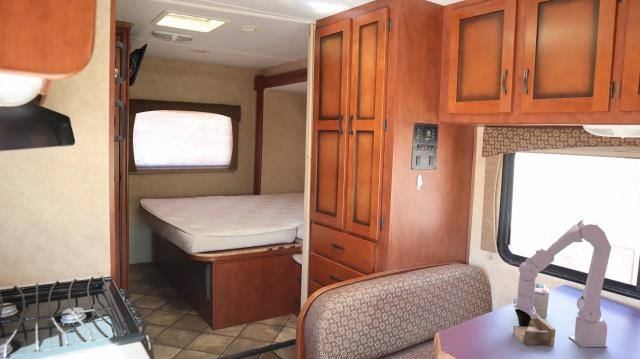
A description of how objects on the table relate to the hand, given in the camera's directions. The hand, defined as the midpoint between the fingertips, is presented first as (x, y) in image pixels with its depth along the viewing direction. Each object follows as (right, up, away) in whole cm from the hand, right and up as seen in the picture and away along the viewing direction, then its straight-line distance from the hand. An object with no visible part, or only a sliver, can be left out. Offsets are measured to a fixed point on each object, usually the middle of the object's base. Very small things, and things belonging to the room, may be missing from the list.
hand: (523, 329), depth 172 cm
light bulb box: (+14, +1, +19) cm, 23 cm away
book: (0, -2, -4) cm, 5 cm away
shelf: (0, -1, -2) cm, 2 cm away
